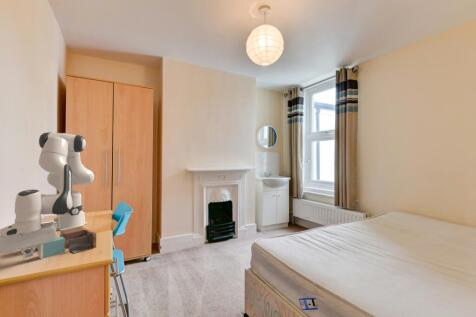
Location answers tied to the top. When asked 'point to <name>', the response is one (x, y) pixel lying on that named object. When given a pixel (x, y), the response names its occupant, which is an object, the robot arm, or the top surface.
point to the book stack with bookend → (78, 239)
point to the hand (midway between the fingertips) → (28, 256)
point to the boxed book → (51, 248)
